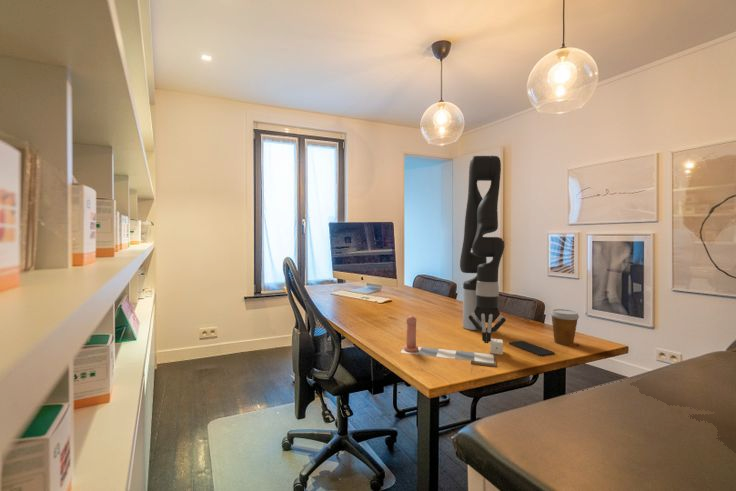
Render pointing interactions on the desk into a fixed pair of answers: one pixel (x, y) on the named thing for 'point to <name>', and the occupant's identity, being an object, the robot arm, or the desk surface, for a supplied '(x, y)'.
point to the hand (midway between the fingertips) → (486, 342)
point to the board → (457, 355)
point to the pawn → (411, 335)
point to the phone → (532, 348)
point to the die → (496, 346)
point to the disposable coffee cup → (564, 325)
